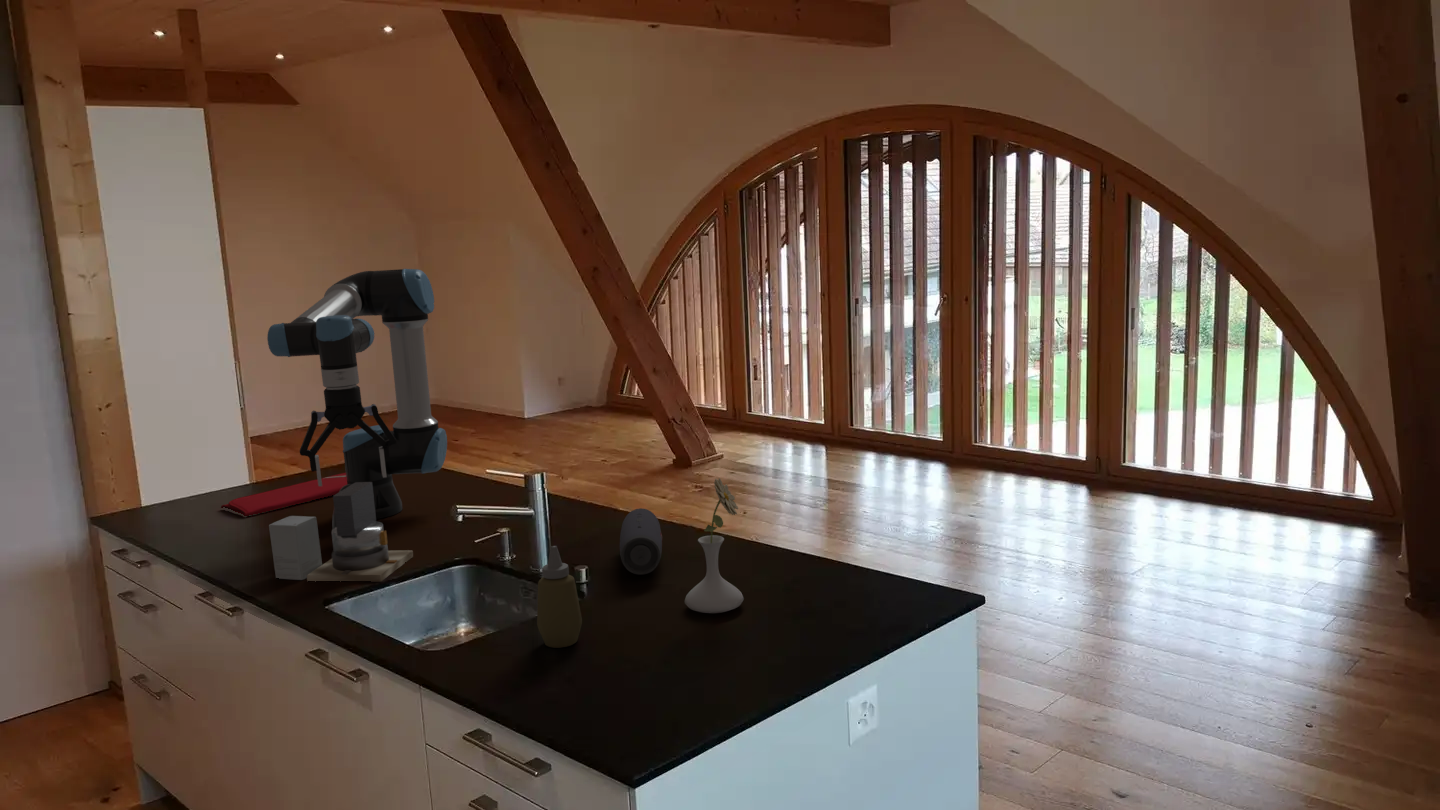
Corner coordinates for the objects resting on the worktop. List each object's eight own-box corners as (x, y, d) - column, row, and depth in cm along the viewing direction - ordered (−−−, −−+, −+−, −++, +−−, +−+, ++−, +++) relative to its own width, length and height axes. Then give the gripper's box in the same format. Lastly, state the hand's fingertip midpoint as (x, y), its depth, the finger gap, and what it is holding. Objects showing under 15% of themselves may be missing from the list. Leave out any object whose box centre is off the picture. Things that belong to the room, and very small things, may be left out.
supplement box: (324, 570, 241) (317, 516, 239) (301, 581, 234) (294, 525, 232) (297, 568, 244) (291, 514, 241) (274, 578, 237) (267, 524, 234)
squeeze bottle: (540, 635, 196) (532, 541, 193) (584, 632, 197) (577, 538, 194) (536, 653, 188) (528, 555, 185) (582, 649, 189) (575, 552, 186)
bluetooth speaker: (664, 579, 224) (662, 533, 222) (620, 582, 223) (617, 536, 222) (662, 546, 246) (660, 504, 245) (622, 549, 246) (619, 507, 244)
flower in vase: (724, 622, 198) (717, 492, 194) (673, 613, 204) (666, 486, 200) (759, 599, 209) (753, 476, 205) (710, 591, 215) (703, 471, 211)
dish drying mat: (220, 511, 300) (218, 498, 299) (353, 480, 330) (351, 468, 329) (246, 520, 289) (244, 506, 289) (380, 486, 319) (379, 474, 319)
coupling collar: (324, 558, 234) (317, 496, 232) (346, 541, 246) (340, 482, 244) (376, 556, 234) (370, 495, 231) (396, 540, 245) (390, 481, 243)
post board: (344, 556, 250) (342, 538, 249) (413, 556, 248) (411, 537, 247) (307, 581, 234) (305, 562, 233) (381, 581, 231) (378, 561, 230)
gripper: (280, 395, 225) (292, 492, 229) (402, 382, 235) (412, 476, 239) (280, 390, 232) (292, 484, 236) (398, 378, 241) (408, 469, 245)
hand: (352, 480), depth 237 cm, fingers open, 13 cm apart
